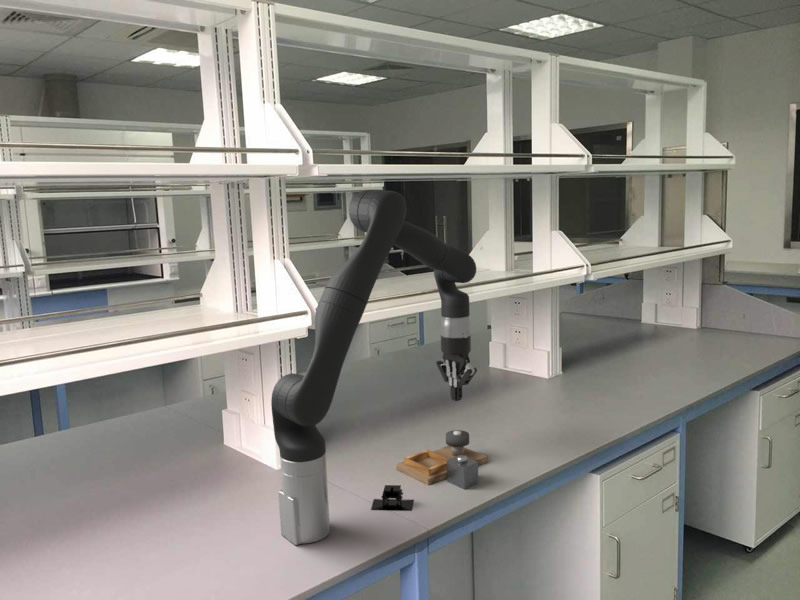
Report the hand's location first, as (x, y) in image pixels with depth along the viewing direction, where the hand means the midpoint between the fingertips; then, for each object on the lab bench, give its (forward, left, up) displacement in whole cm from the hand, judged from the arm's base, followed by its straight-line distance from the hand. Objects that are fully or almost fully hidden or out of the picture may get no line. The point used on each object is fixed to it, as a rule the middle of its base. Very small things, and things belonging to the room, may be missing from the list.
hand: (456, 399), depth 168 cm
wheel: (0, 0, -11) cm, 11 cm away
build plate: (-28, -8, -17) cm, 33 cm away
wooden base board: (-5, 0, -16) cm, 17 cm away
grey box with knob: (-8, -10, -16) cm, 21 cm away
